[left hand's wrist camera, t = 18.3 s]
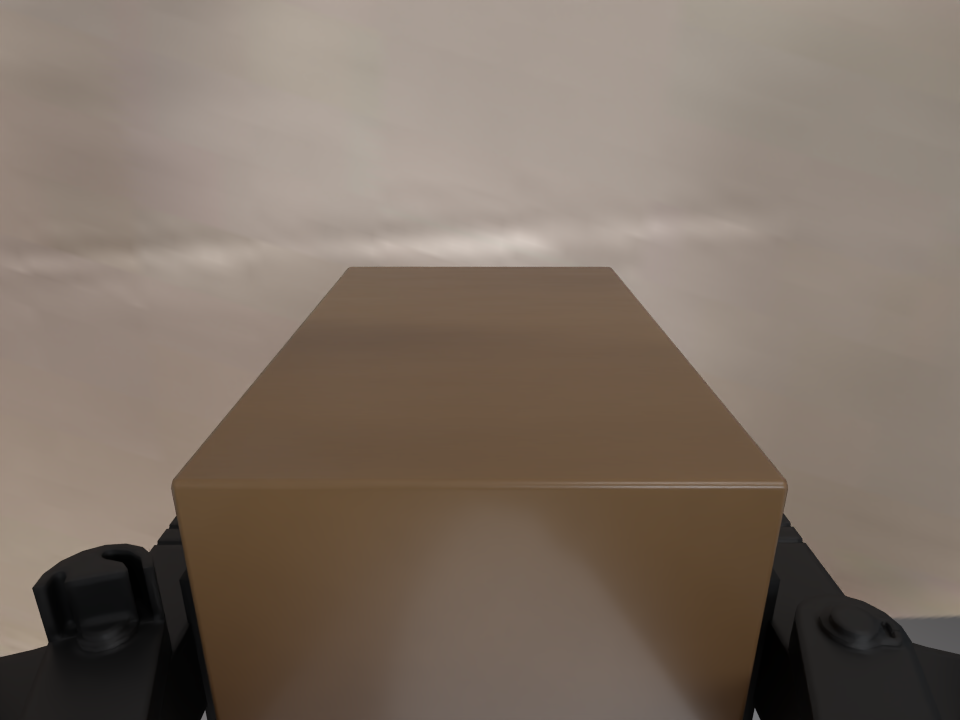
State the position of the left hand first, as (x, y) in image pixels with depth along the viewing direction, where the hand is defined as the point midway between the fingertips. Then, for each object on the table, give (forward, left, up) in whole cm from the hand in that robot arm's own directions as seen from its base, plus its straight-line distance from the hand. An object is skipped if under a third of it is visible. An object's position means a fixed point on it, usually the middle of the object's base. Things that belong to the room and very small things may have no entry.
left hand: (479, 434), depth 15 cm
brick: (0, 0, -1) cm, 1 cm away
